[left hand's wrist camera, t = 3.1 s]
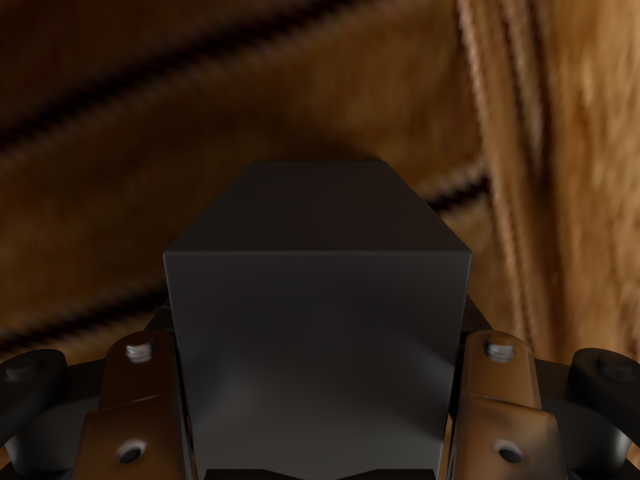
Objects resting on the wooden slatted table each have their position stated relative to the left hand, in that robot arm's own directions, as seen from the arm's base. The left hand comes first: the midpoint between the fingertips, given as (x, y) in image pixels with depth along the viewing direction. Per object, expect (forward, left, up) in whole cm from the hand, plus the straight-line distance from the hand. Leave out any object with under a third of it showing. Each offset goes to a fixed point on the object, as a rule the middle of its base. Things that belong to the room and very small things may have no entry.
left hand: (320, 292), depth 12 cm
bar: (-8, +2, -5) cm, 10 cm away
